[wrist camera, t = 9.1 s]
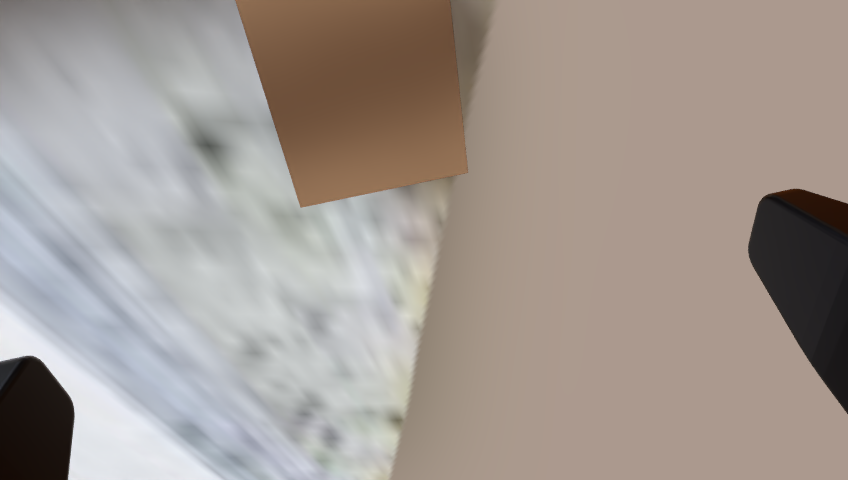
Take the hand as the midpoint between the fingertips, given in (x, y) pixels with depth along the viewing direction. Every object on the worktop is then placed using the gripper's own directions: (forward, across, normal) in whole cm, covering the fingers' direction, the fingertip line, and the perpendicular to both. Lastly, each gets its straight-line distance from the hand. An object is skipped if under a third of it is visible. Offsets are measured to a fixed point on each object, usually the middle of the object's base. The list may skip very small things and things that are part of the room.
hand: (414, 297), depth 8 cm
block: (+12, 0, 0) cm, 12 cm away
